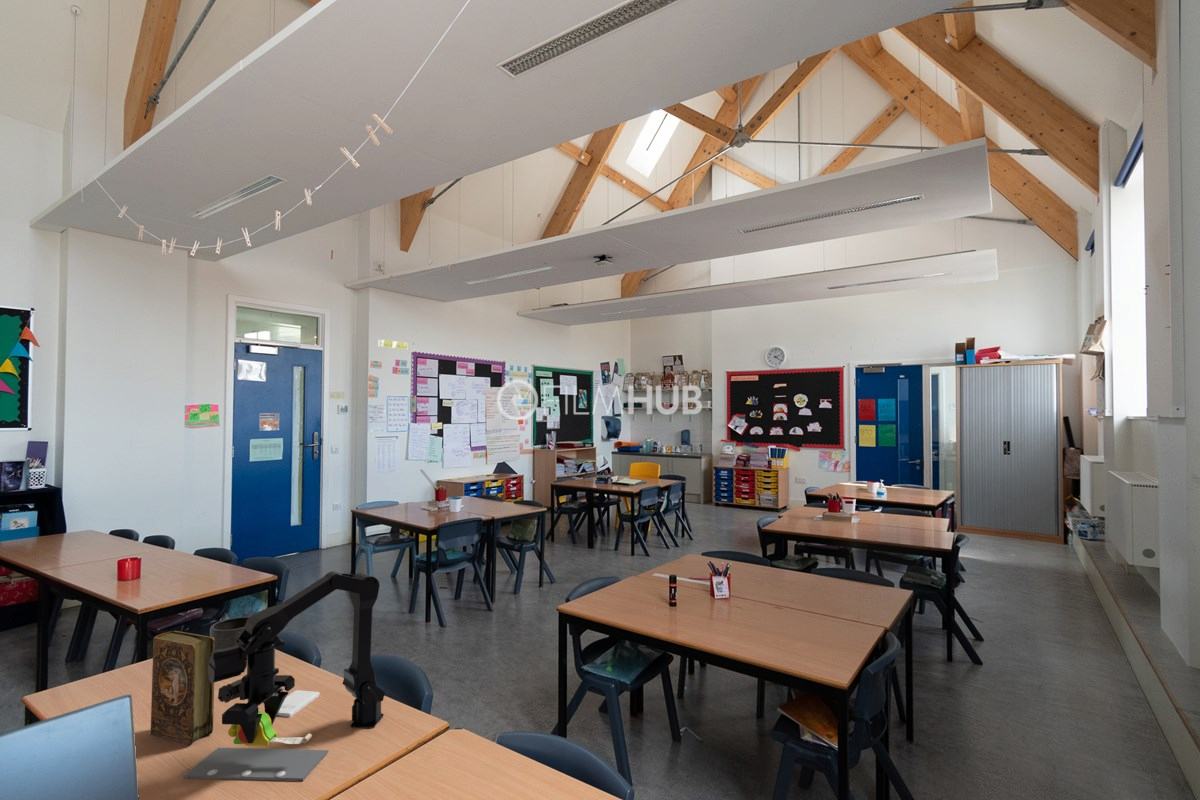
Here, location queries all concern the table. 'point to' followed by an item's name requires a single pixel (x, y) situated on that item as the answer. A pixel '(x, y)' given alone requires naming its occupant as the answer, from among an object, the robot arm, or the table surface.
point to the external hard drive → (296, 702)
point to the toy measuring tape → (264, 734)
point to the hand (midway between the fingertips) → (260, 734)
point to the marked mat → (258, 764)
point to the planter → (227, 632)
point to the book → (181, 687)
